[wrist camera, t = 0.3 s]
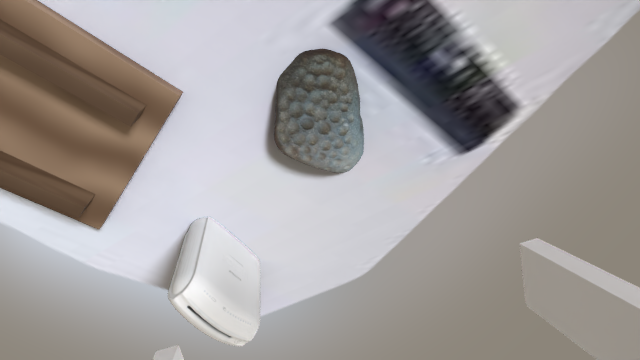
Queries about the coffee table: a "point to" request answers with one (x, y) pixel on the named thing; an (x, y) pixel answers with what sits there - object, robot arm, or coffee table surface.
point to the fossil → (320, 111)
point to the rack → (72, 113)
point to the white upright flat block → (217, 283)
